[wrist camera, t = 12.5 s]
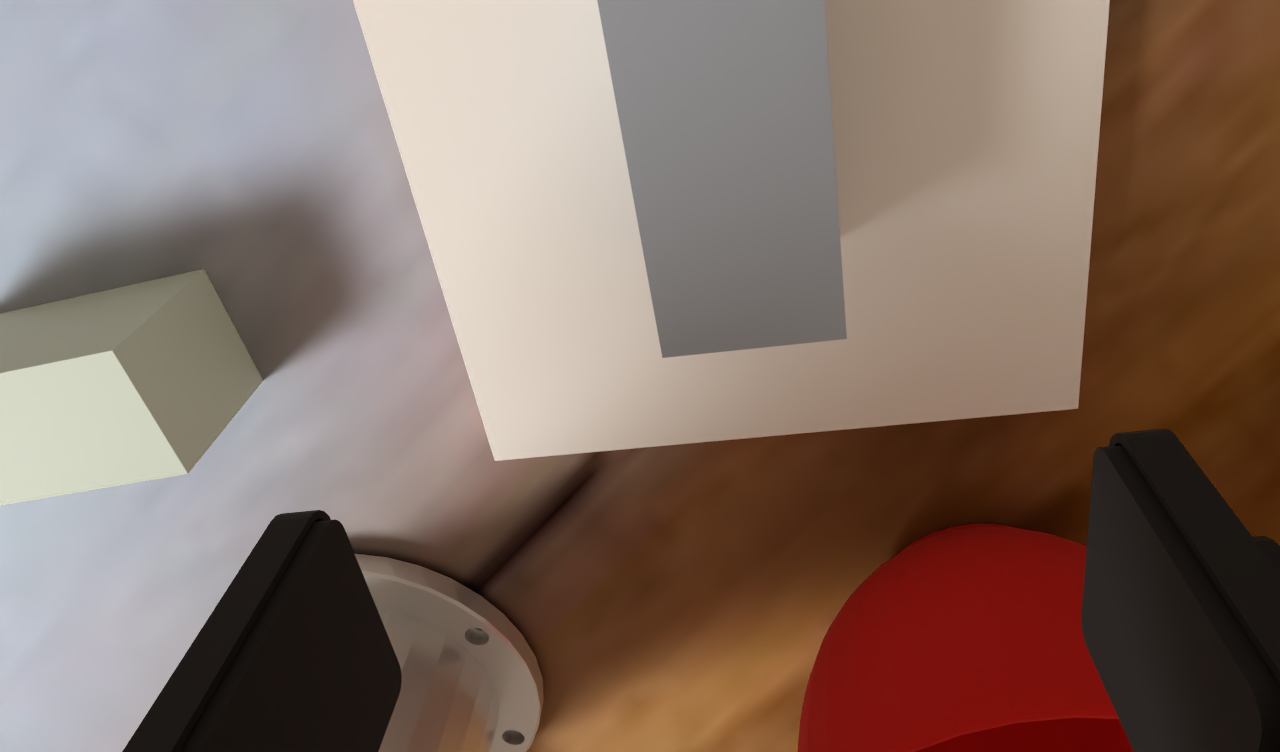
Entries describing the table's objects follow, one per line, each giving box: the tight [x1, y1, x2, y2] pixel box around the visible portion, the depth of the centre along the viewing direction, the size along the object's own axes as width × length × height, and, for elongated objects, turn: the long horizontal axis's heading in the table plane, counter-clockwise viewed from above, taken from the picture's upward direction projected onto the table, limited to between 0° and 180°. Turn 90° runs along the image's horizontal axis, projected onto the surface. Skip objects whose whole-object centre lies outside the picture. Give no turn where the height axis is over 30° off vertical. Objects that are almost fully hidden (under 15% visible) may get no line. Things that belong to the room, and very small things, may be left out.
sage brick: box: [0, 269, 263, 505], centre depth 28 cm, size 8×4×5 cm, turn 104°
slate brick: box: [597, 0, 847, 358], centre depth 21 cm, size 8×4×5 cm, turn 10°
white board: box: [353, 0, 1110, 461], centre depth 24 cm, size 17×17×2 cm
